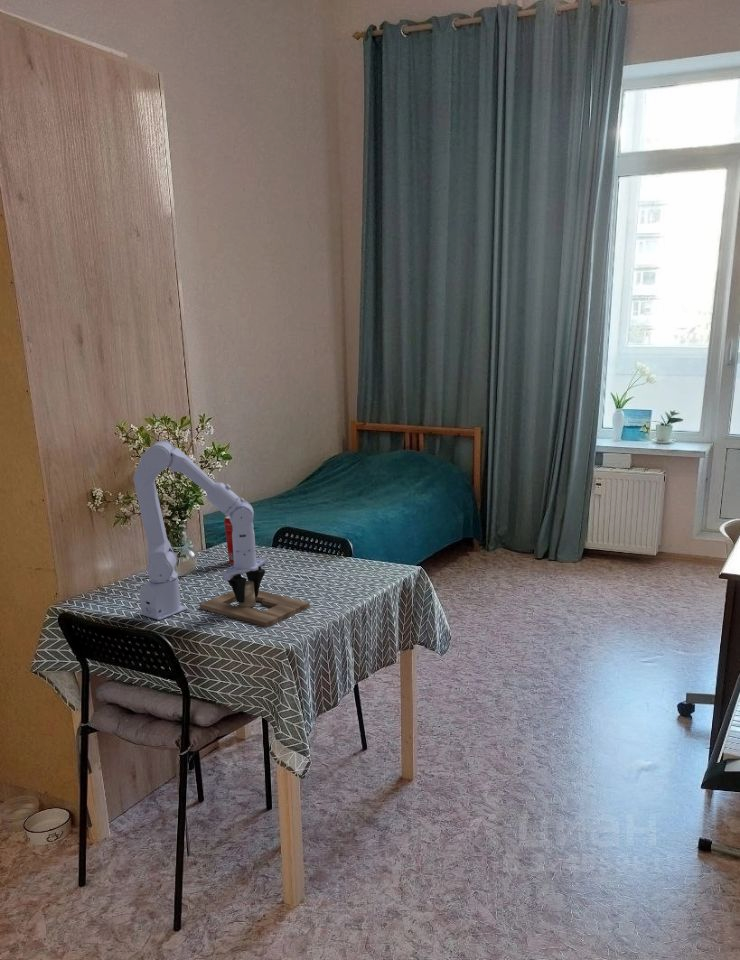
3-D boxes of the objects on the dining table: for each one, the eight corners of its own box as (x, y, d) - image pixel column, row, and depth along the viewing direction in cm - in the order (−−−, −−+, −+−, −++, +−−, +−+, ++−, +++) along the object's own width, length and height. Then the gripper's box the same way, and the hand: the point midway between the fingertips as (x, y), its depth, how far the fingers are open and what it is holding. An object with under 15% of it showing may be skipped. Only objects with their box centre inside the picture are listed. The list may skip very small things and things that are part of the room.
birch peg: (246, 608, 191) (244, 586, 190) (235, 606, 194) (233, 584, 193) (259, 603, 194) (257, 581, 193) (247, 601, 197) (245, 579, 196)
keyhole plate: (266, 627, 179) (266, 622, 179) (199, 608, 193) (199, 604, 193) (309, 607, 192) (309, 602, 192) (243, 590, 206) (243, 586, 205)
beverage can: (246, 564, 229) (243, 517, 226) (225, 565, 229) (222, 518, 226) (249, 559, 235) (246, 513, 232) (228, 559, 235) (225, 513, 232)
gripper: (234, 558, 183) (238, 610, 185) (274, 544, 194) (277, 593, 197) (215, 554, 187) (218, 605, 189) (255, 540, 198) (258, 588, 201)
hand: (247, 598), depth 193 cm, fingers closed on birch peg, 4 cm apart
